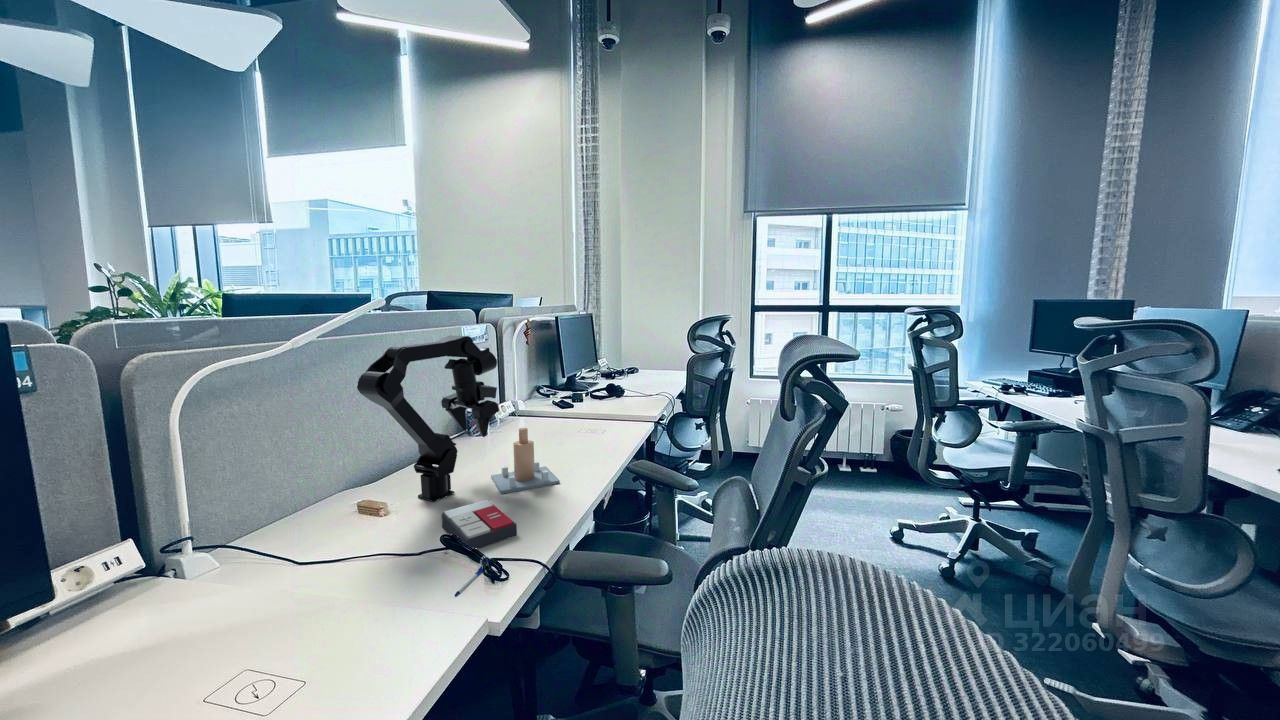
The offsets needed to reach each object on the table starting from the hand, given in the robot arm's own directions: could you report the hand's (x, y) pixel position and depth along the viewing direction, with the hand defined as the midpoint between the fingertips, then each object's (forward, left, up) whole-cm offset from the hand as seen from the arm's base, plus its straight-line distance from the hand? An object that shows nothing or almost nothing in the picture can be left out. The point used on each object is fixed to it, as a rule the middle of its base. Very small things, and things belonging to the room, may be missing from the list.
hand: (474, 433), depth 140 cm
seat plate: (+5, -14, -13) cm, 20 cm away
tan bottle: (+5, -14, -12) cm, 19 cm away
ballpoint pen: (-37, -39, -13) cm, 56 cm away
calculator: (-23, -26, -14) cm, 37 cm away
